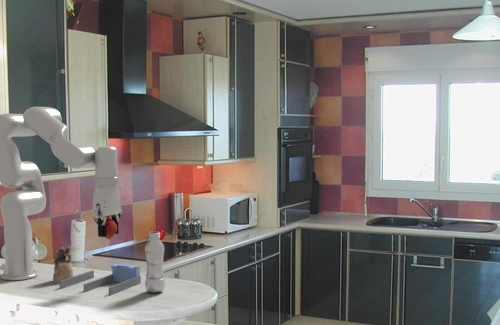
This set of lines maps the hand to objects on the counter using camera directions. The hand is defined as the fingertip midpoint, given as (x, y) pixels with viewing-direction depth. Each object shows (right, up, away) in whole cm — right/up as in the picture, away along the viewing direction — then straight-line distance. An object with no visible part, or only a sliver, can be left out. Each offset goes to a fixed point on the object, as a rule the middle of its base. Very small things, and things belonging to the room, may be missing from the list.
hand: (108, 234), depth 208 cm
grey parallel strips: (-3, -18, +3) cm, 18 cm away
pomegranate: (0, -2, 0) cm, 2 cm away
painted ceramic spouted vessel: (-19, -18, +10) cm, 28 cm away
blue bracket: (+5, -18, +7) cm, 20 cm away
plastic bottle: (+17, -19, -6) cm, 26 cm away
